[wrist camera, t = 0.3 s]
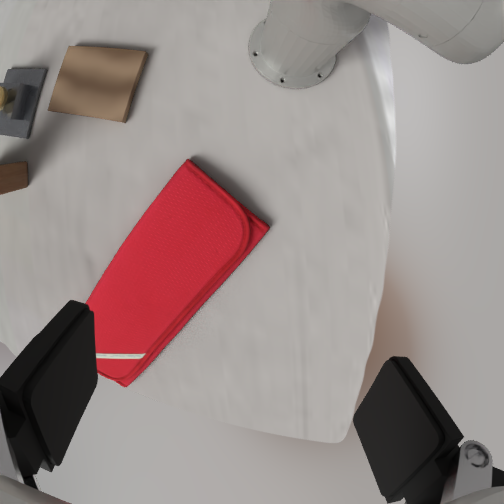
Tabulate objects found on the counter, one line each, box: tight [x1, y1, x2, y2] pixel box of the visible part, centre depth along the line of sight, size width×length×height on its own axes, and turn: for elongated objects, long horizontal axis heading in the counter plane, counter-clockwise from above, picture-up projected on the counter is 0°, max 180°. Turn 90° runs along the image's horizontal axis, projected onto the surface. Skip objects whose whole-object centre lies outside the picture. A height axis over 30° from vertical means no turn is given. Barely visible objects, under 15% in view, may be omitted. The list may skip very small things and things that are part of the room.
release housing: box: [0, 69, 47, 139], centre depth 33 cm, size 12×10×4 cm
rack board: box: [48, 46, 148, 123], centre depth 35 cm, size 11×14×2 cm
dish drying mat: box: [85, 159, 270, 387], centre depth 46 cm, size 16×41×4 cm, turn 139°
